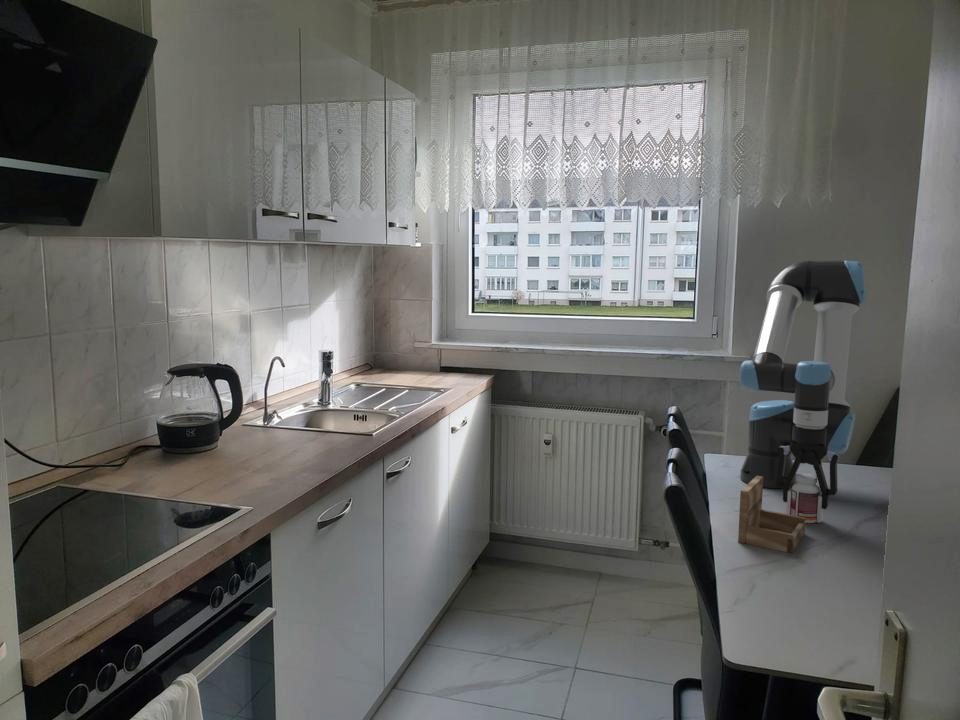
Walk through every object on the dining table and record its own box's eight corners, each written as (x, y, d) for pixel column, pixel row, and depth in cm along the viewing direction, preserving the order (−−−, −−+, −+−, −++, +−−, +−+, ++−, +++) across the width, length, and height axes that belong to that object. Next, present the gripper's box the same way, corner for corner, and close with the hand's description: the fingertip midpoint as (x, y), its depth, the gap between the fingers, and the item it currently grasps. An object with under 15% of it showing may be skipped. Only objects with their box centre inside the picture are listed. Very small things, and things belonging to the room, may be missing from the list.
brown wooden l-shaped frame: (754, 523, 174) (756, 475, 172) (804, 533, 167) (807, 483, 166) (738, 542, 162) (740, 490, 161) (791, 553, 156) (794, 500, 154)
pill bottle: (823, 520, 176) (826, 477, 174) (808, 525, 172) (811, 481, 171) (799, 513, 181) (802, 470, 179) (785, 518, 177) (787, 474, 176)
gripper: (764, 423, 176) (759, 514, 179) (851, 434, 165) (845, 530, 168) (771, 418, 182) (766, 506, 185) (856, 427, 171) (849, 521, 174)
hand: (804, 517), depth 176 cm, fingers closed on pill bottle, 6 cm apart
